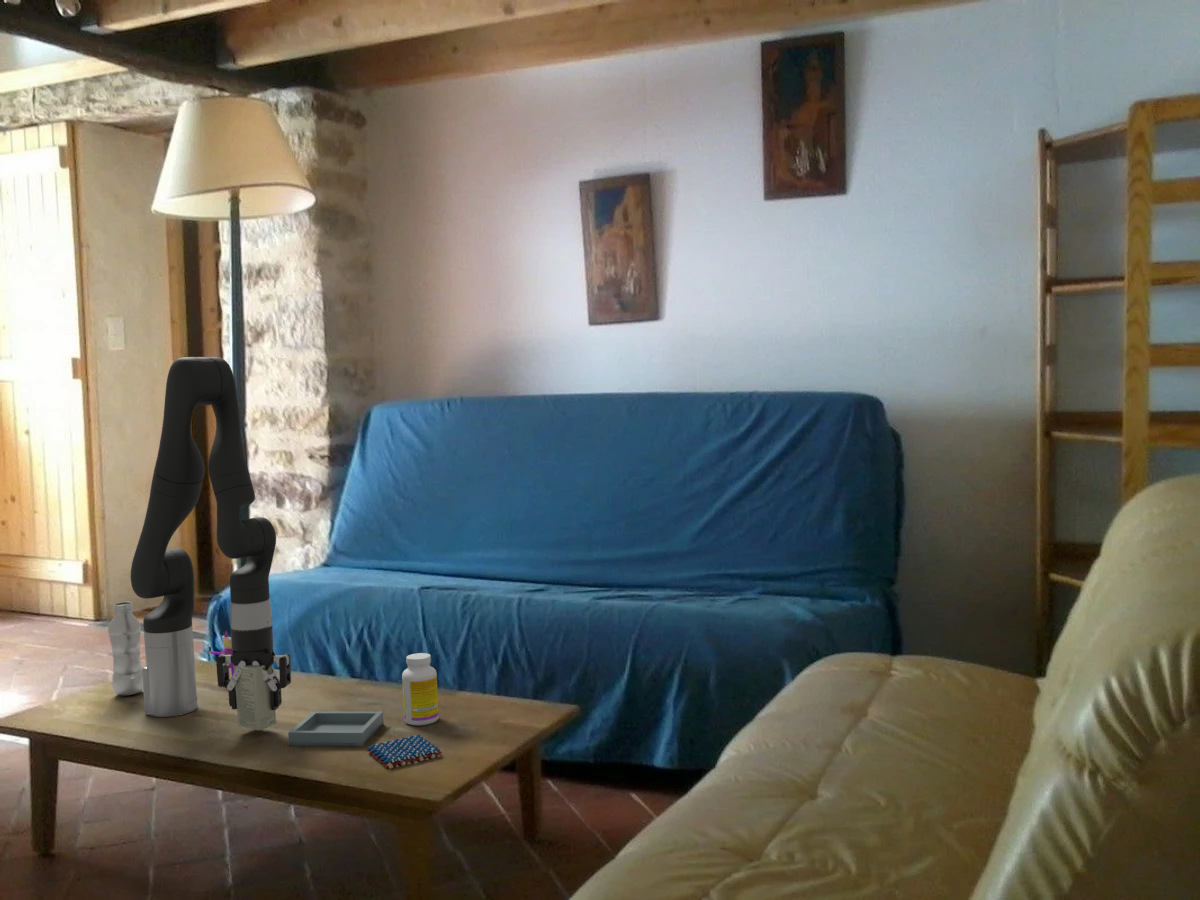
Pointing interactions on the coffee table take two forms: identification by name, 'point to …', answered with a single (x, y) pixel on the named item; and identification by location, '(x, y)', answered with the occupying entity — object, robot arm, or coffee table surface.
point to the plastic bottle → (125, 650)
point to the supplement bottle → (420, 690)
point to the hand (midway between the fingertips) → (255, 708)
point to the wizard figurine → (227, 650)
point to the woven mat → (403, 751)
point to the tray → (336, 729)
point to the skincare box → (254, 699)
